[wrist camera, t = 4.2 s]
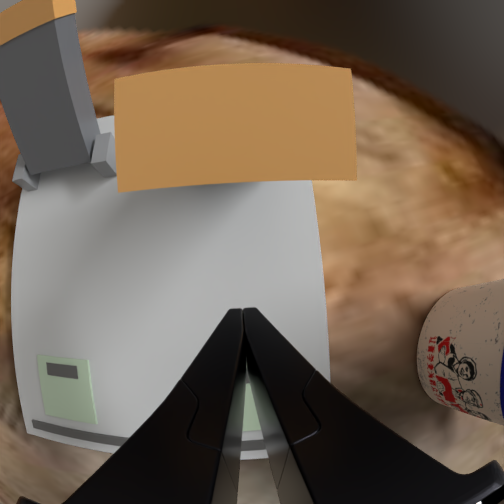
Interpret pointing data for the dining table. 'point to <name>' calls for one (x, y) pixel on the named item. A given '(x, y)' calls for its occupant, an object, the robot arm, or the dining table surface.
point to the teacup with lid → (466, 351)
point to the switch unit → (149, 290)
